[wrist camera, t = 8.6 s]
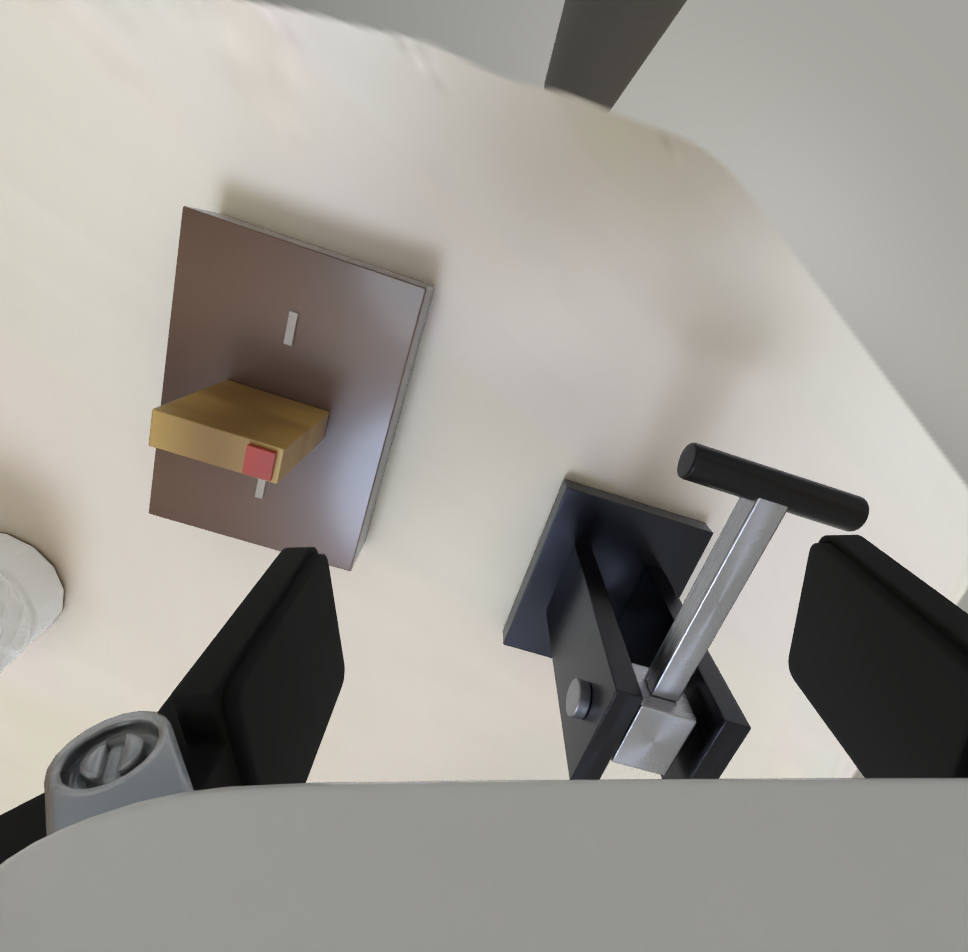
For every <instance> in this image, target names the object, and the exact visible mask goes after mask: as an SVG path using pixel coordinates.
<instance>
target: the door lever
mask: <svg viewBox="0 0 968 952" xmlns="http://www.w3.org/2000/svg"><path fill="white" fill-rule="evenodd" d="M677 473H678V475H679V477H680V478H682V479H685V480H688V481H691V482H694V483H697V484H700V485H704V486H707V487H710V488H713V489H716V490H719V491H722V492H725V493H729V494H732V495H735V496H738V497H740V498H739V500H738V502H737V504H736V506H735V508H734V509H733V511H732V513H731V515H730V517H729V519H728V521H727V523H726V525H725V526H724V528H723V530H722V532H721V534H720V536H719V538H718V540H717V541H716V543H715V545H714V547H713V549H712V551H711V553H710V555H709V556H708V558H707V560H706V562H705V564H704V566H703V568H702V570H701V571H700V573H699V575H698V577H697V579H696V581H695V583H694V585H693V587H692V588H691V590H690V592H689V594H688V596H687V598H686V600H685V602H684V603H683V605H682V607H681V609H680V611H679V613H678V615H677V617H676V618H675V620H674V622H673V624H672V626H671V628H670V630H669V632H668V634H667V635H666V637H665V639H664V641H663V643H662V645H661V647H660V649H659V650H658V652H657V654H656V656H655V658H654V660H653V662H652V664H651V665H650V667H649V668H648V667H644V666H641V665H637V664H634V663H632V666H633V669H634V672H635V675H636V678H637V681H638V684H639V687H640V689H641V692H642V695H643V700H642V702H641V704H640V706H639V707H638V709H637V711H636V713H635V715H634V717H633V719H632V720H631V722H630V724H629V726H628V728H627V730H626V731H625V733H624V735H623V737H622V739H621V741H620V743H619V744H618V746H617V748H616V750H615V752H614V754H613V756H612V757H611V761H612V762H616V763H619V764H623V765H627V766H630V767H634V768H638V769H642V770H645V771H649V772H653V773H657V774H660V775H666V773H667V772H668V770H669V768H670V767H671V765H672V763H673V762H674V760H675V758H676V757H677V755H678V753H679V752H680V750H681V748H682V746H683V745H684V743H685V741H686V740H687V738H688V736H689V735H690V733H691V731H692V730H693V728H694V726H695V725H696V723H697V720H696V717H695V715H694V713H693V711H692V708H691V706H690V704H689V702H688V699H687V697H686V695H685V693H684V690H685V688H686V687H687V685H688V683H689V681H690V680H691V678H692V676H693V674H694V673H695V671H696V669H697V667H698V666H699V664H700V662H701V660H702V659H703V657H704V655H705V653H706V652H707V650H708V648H709V646H710V645H711V643H712V641H713V639H714V638H715V636H716V634H717V632H718V631H719V629H720V627H721V625H722V623H723V622H724V620H725V618H726V616H727V615H728V613H729V611H730V609H731V608H732V606H733V604H734V602H735V601H736V599H737V597H738V595H739V594H740V592H741V590H742V588H743V587H744V585H745V583H746V581H747V580H748V578H749V576H750V574H751V573H752V571H753V569H754V567H755V566H756V564H757V562H758V560H759V559H760V557H761V555H762V553H763V552H764V550H765V548H766V546H767V545H768V543H769V541H770V539H771V538H772V536H773V534H774V532H775V531H776V529H777V527H778V525H779V524H780V522H781V520H782V518H783V517H784V515H785V513H786V512H788V513H791V514H794V515H797V516H800V517H804V518H807V519H810V520H813V521H816V522H819V523H822V524H826V525H829V526H832V527H835V528H838V529H841V530H844V531H855V530H857V529H859V528H860V527H862V526H863V524H864V523H865V522H866V520H867V518H868V514H869V506H868V503H867V501H866V500H865V499H864V498H862V497H860V496H857V495H854V494H851V493H848V492H845V491H841V490H838V489H835V488H832V487H829V486H826V485H823V484H820V483H817V482H814V481H811V480H808V479H805V478H802V477H799V476H796V475H792V474H789V473H786V472H783V471H780V470H777V469H774V468H771V467H768V466H765V465H762V464H759V463H756V462H753V461H750V460H747V459H743V458H740V457H737V456H734V455H731V454H728V453H725V452H722V451H719V450H716V449H713V448H710V447H707V446H704V445H701V444H698V443H690V444H689V445H687V446H686V447H685V449H684V450H683V452H682V454H681V456H680V458H679V461H678V466H677Z"/></svg>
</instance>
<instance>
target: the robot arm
mask: <svg viewBox="0 0 968 952" xmlns="http://www.w3.org/2000/svg"><path fill="white" fill-rule="evenodd" d="M788 662H789V669H790V673H791V675H792V677H793V679H794V681H795V682H796V683H797V685H798V686H799V687H800V689H801V690H802V692H803V693H804V694H805V696H806V697H807V699H808V700H809V701H810V703H811V704H812V705H813V707H814V708H815V710H816V711H817V712H818V714H819V715H820V717H821V718H822V719H823V721H824V722H825V723H826V725H827V726H828V728H829V729H830V730H831V732H832V733H833V734H834V736H835V737H836V739H837V740H838V741H839V743H840V744H841V746H842V747H843V748H844V750H845V751H846V752H847V754H848V755H849V757H850V758H851V759H852V761H853V762H854V764H855V765H856V766H857V768H858V769H859V770H860V772H861V773H862V775H863V776H864V777H865V778H783V779H623V780H489V781H408V782H327V783H306V781H307V778H308V775H309V773H310V770H311V767H312V765H313V762H314V759H315V757H316V754H317V751H318V749H319V746H320V743H321V741H322V738H323V735H324V733H325V730H326V727H327V725H328V722H329V719H330V717H331V714H332V711H333V709H334V706H335V703H336V701H337V698H338V695H339V693H340V690H341V687H342V684H343V680H344V671H345V668H344V660H343V653H342V647H341V640H340V634H339V628H338V621H337V615H336V609H335V602H334V596H333V590H332V583H331V577H330V570H329V564H328V559H327V556H326V555H325V554H319V553H318V551H317V549H316V548H315V547H288V548H284V549H283V550H282V551H281V552H280V554H279V555H278V556H277V558H276V559H275V560H274V561H273V563H272V564H271V565H270V567H269V568H268V569H267V571H266V572H265V573H264V574H263V576H262V577H261V578H260V580H259V581H258V582H257V584H256V585H255V586H254V587H253V589H252V590H251V591H250V593H249V594H248V595H247V597H246V598H245V599H244V600H243V602H242V603H241V604H240V606H239V607H238V608H237V609H236V611H235V612H234V613H233V615H232V616H231V617H230V619H229V620H228V621H227V622H226V624H225V625H224V626H223V628H222V629H221V630H220V632H219V633H218V634H217V635H216V637H215V638H214V639H213V641H212V642H211V643H210V644H209V646H208V647H207V648H206V650H205V651H204V652H203V654H202V655H201V656H200V657H199V659H198V660H197V661H196V663H195V664H194V665H193V667H192V668H191V669H190V670H189V672H188V673H187V674H186V676H185V677H184V678H183V679H182V681H181V682H180V683H179V685H178V686H177V687H176V689H175V690H174V691H173V692H172V694H171V695H170V697H169V698H168V699H167V701H166V702H165V703H164V704H163V706H162V707H161V708H160V710H159V711H158V712H157V713H156V712H149V711H137V712H131V713H125V714H122V715H119V716H116V717H113V718H110V719H107V720H104V721H103V722H101V723H99V724H97V725H95V726H93V727H91V728H89V729H87V730H86V731H84V732H83V733H81V734H80V735H78V736H77V737H76V738H74V739H73V740H71V741H70V742H69V743H68V744H67V745H66V746H65V747H64V748H63V749H62V750H61V751H60V752H59V753H58V754H57V755H56V756H55V758H54V759H53V761H52V762H51V764H50V766H49V767H48V769H47V772H46V776H45V781H44V789H45V793H43V794H41V795H39V796H37V797H35V798H33V799H31V800H29V801H27V802H25V803H23V804H21V805H19V806H18V807H16V808H14V809H12V810H10V811H8V812H6V813H4V814H2V815H0V952H968V614H967V613H966V612H965V611H963V610H962V609H960V608H959V607H958V606H956V605H955V604H954V603H952V602H951V601H950V600H948V599H947V598H945V597H944V596H943V595H941V594H940V593H939V592H937V591H936V590H934V589H933V588H932V587H930V586H929V585H928V584H926V583H925V582H924V581H922V580H921V579H919V578H918V577H917V576H915V575H914V574H913V573H911V572H910V571H908V570H907V569H906V568H904V567H903V566H902V565H900V564H899V563H898V562H896V561H895V560H893V559H892V558H891V557H889V556H888V555H887V554H885V553H884V552H882V551H881V550H880V549H878V548H877V547H876V546H874V545H873V544H872V543H870V542H869V541H867V540H866V539H865V538H863V537H862V536H859V535H826V536H824V537H822V538H821V539H820V541H819V543H815V544H813V545H812V546H811V548H810V551H809V556H808V561H807V566H806V571H805V577H804V582H803V587H802V592H801V597H800V602H799V607H798V613H797V618H796V623H795V628H794V633H793V638H792V643H791V649H790V654H789V661H788Z"/></svg>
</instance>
